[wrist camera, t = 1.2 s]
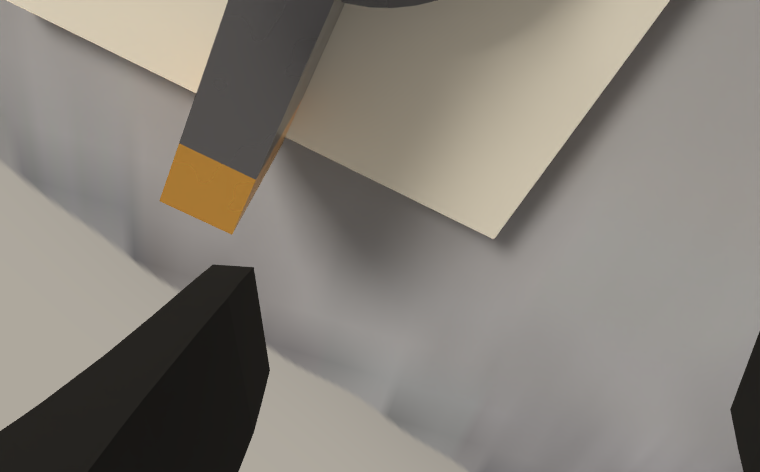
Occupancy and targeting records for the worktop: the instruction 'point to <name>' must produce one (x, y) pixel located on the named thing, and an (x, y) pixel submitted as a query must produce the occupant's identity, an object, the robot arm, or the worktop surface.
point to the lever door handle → (249, 101)
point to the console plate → (413, 84)
